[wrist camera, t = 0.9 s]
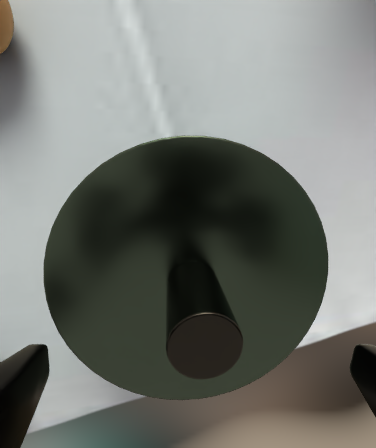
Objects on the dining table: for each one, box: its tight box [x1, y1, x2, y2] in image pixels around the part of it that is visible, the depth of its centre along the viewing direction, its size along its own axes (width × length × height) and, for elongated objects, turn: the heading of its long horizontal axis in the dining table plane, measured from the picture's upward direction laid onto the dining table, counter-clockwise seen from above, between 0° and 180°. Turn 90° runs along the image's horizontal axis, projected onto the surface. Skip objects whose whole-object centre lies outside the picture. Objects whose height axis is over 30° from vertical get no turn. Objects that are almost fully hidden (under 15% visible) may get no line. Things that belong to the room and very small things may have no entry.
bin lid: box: [44, 136, 328, 400], centre depth 10 cm, size 13×13×5 cm
